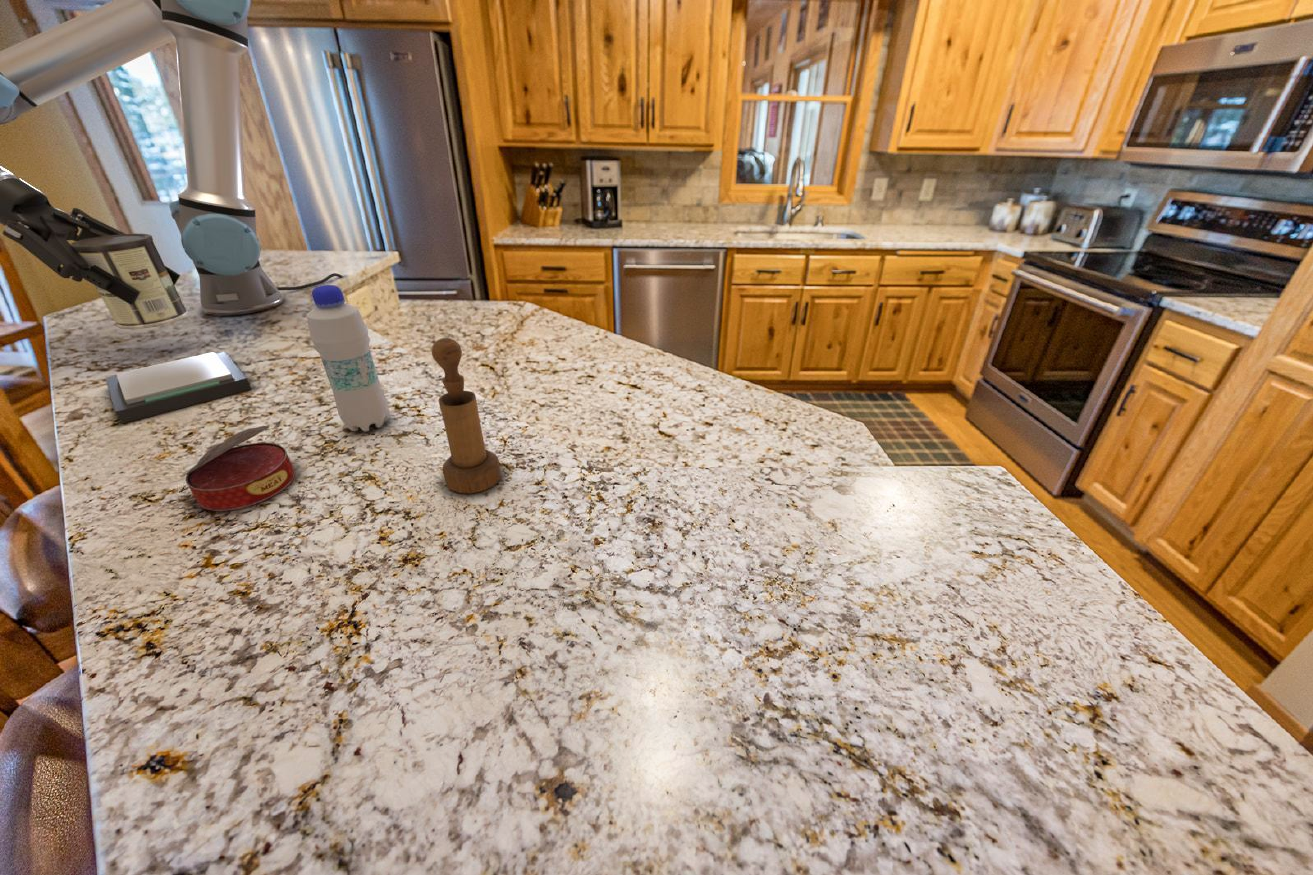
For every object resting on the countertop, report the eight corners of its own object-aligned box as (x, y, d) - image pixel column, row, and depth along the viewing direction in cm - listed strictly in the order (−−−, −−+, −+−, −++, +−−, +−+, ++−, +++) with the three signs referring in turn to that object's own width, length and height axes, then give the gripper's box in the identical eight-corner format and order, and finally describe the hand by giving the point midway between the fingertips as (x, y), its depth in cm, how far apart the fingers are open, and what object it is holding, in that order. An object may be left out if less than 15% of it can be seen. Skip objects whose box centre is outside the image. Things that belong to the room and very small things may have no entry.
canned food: (234, 543, 62) (144, 501, 54) (234, 491, 68) (154, 447, 61) (317, 482, 63) (240, 433, 56) (309, 437, 70) (240, 388, 63)
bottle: (403, 418, 78) (366, 282, 68) (365, 440, 73) (317, 295, 62) (371, 409, 80) (330, 276, 70) (331, 429, 75) (280, 288, 65)
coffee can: (153, 310, 101) (113, 232, 94) (202, 311, 101) (166, 233, 93) (99, 328, 93) (51, 244, 85) (153, 330, 92) (109, 246, 84)
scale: (229, 361, 96) (222, 347, 94) (251, 389, 86) (245, 373, 85) (111, 389, 86) (102, 373, 84) (122, 424, 76) (111, 406, 75)
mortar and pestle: (511, 469, 67) (489, 333, 58) (481, 499, 62) (450, 355, 52) (467, 459, 69) (438, 326, 59) (434, 487, 64) (396, 346, 54)
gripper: (50, 202, 95) (186, 287, 105) (-82, 225, 76) (100, 326, 86) (66, 169, 93) (203, 258, 103) (-67, 183, 73) (119, 292, 83)
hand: (156, 289), depth 94 cm, fingers closed on coffee can, 10 cm apart
